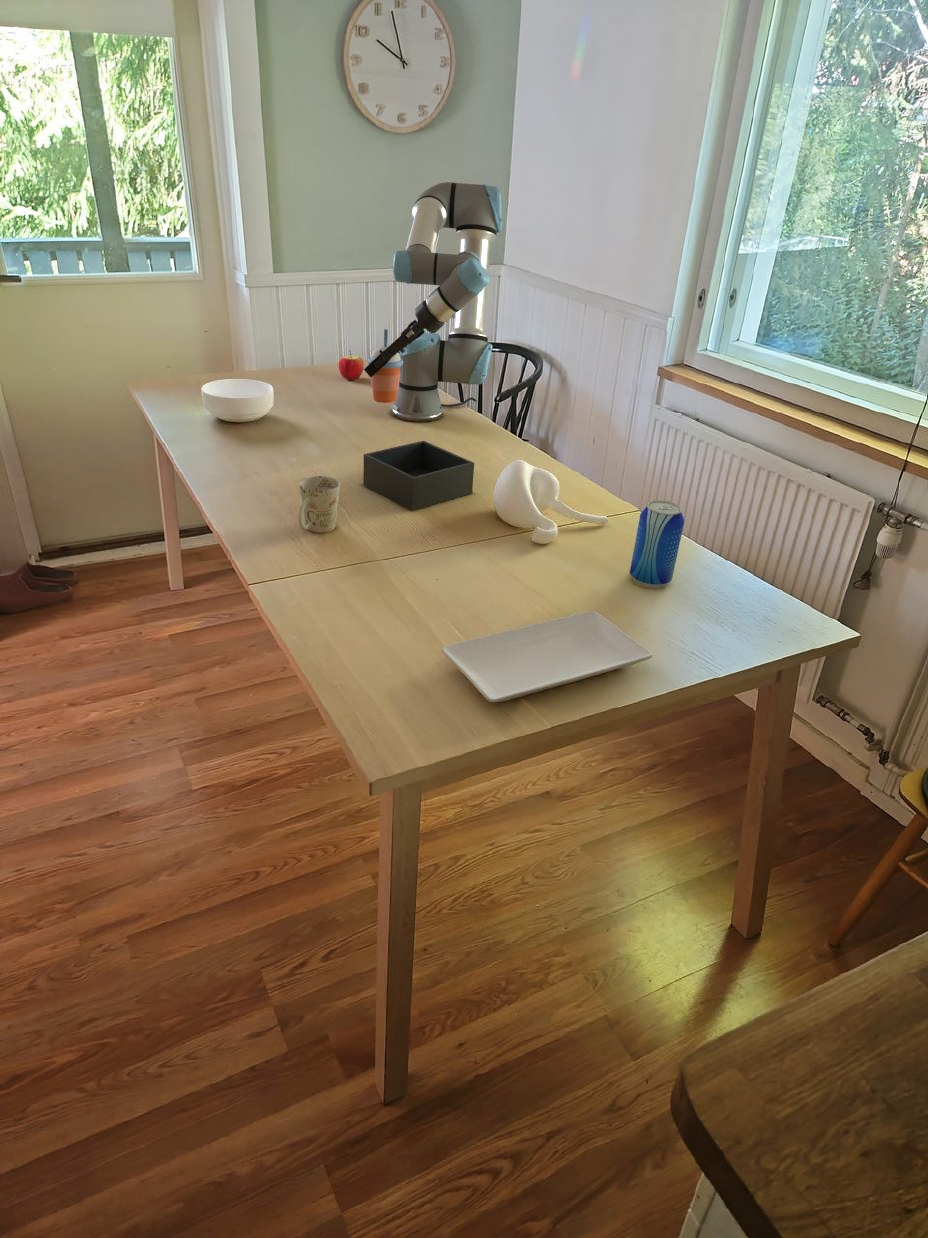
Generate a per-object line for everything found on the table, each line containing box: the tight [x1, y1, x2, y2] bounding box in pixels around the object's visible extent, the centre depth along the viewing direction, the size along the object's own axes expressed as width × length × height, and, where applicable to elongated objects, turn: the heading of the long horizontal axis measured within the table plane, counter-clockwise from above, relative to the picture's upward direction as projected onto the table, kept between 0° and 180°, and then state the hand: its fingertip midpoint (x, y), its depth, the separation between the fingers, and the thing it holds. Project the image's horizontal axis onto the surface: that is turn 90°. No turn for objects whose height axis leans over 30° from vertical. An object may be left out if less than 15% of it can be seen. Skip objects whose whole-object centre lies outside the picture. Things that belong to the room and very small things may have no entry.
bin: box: [363, 440, 475, 511], centre depth 200 cm, size 19×19×8 cm
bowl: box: [200, 378, 275, 423], centre depth 238 cm, size 20×20×8 cm
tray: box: [441, 610, 653, 703], centre depth 137 cm, size 17×32×4 cm, turn 119°
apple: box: [337, 349, 365, 381], centre depth 280 cm, size 8×8×10 cm
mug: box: [298, 475, 341, 534], centre depth 175 cm, size 8×13×10 cm, turn 161°
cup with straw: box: [367, 328, 403, 404], centre depth 217 cm, size 9×9×18 cm
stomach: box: [493, 459, 609, 545], centre depth 188 cm, size 23×13×24 cm
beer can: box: [629, 499, 685, 590], centre depth 164 cm, size 8×8×16 cm
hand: (373, 368), depth 218 cm, fingers closed on cup with straw, 9 cm apart
